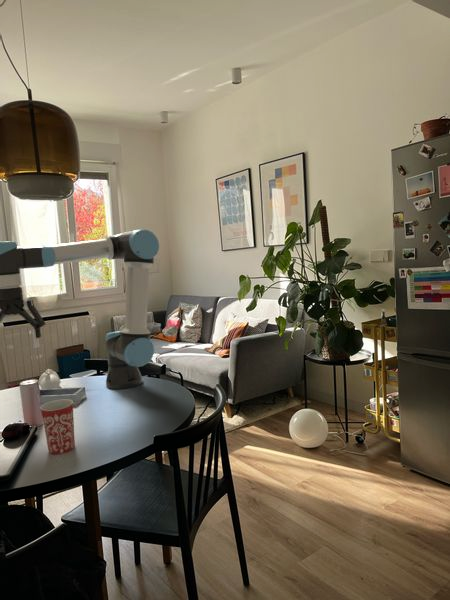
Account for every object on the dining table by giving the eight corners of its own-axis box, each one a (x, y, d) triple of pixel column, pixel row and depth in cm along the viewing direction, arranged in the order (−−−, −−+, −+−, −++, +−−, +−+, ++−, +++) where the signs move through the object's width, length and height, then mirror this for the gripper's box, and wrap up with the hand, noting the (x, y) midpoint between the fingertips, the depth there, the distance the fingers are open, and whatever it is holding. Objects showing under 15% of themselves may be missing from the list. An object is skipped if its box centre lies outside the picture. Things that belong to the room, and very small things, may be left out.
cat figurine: (52, 372, 185) (47, 361, 198) (35, 385, 182) (31, 373, 195) (66, 388, 189) (61, 376, 202) (50, 401, 186) (45, 388, 199)
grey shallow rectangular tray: (86, 396, 180) (85, 386, 180) (76, 405, 170) (74, 395, 170) (38, 398, 182) (36, 389, 181) (25, 407, 172) (23, 397, 171)
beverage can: (26, 423, 155) (21, 380, 154) (45, 420, 156) (40, 378, 155) (23, 429, 149) (17, 385, 148) (42, 426, 151) (36, 383, 149)
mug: (78, 451, 129) (73, 406, 127) (44, 458, 126) (38, 412, 125) (78, 435, 141) (73, 393, 139) (47, 441, 138) (42, 398, 137)
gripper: (50, 283, 157) (57, 343, 160) (-23, 289, 156) (-15, 349, 159) (42, 285, 150) (49, 348, 152) (-34, 291, 149) (-26, 354, 151)
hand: (17, 349), depth 155 cm, fingers open, 13 cm apart
